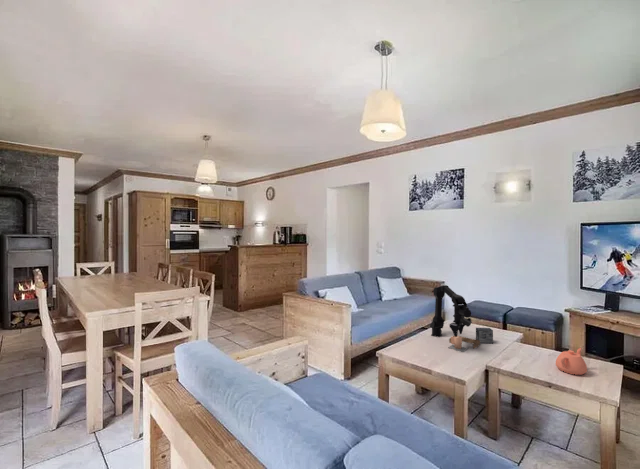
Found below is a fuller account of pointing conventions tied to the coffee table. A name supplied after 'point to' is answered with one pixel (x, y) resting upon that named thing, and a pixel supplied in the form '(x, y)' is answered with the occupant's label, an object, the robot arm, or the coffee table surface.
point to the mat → (458, 349)
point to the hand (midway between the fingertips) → (458, 335)
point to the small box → (484, 335)
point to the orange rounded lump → (571, 362)
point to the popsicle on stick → (457, 342)
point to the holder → (469, 341)
